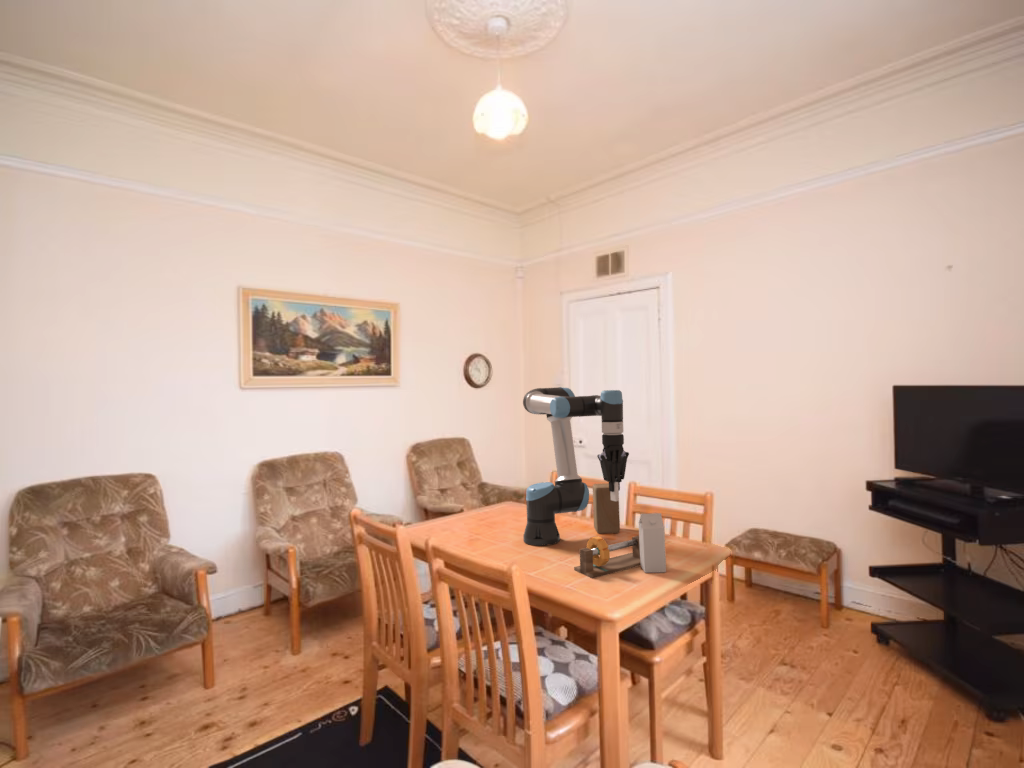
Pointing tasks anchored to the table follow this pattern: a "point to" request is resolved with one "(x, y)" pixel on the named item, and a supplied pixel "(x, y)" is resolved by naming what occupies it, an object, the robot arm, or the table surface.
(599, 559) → the ring
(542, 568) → the table surface
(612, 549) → the pipe
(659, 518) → the milk carton
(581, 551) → the rack
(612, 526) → the wooden block
